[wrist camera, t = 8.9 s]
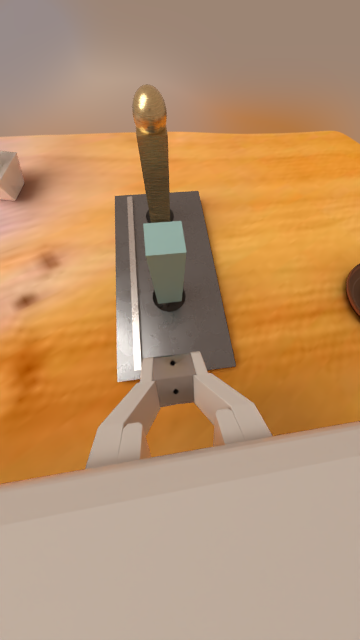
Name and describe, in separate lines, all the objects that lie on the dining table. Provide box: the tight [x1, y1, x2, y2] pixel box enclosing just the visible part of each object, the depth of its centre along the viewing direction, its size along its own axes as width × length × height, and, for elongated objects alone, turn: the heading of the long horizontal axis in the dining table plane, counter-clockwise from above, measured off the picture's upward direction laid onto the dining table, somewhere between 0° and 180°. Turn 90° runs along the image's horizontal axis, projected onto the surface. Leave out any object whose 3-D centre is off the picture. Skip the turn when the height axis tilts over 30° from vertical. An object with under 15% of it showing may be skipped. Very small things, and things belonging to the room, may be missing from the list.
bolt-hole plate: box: [115, 84, 236, 382], centre depth 18 cm, size 29×14×14 cm, turn 7°
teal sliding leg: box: [143, 221, 187, 304], centre depth 17 cm, size 3×3×10 cm
